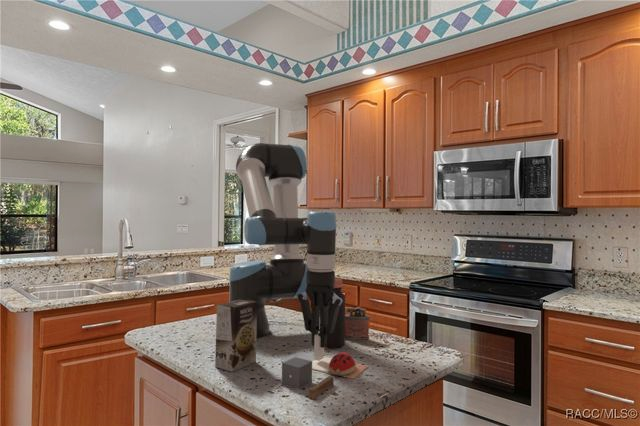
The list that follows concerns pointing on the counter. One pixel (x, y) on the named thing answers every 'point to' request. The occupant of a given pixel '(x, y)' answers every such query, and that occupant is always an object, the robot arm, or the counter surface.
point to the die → (296, 373)
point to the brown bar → (321, 387)
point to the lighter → (356, 325)
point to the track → (326, 364)
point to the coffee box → (236, 334)
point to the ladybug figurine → (342, 364)
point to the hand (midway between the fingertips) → (318, 358)
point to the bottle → (338, 336)
